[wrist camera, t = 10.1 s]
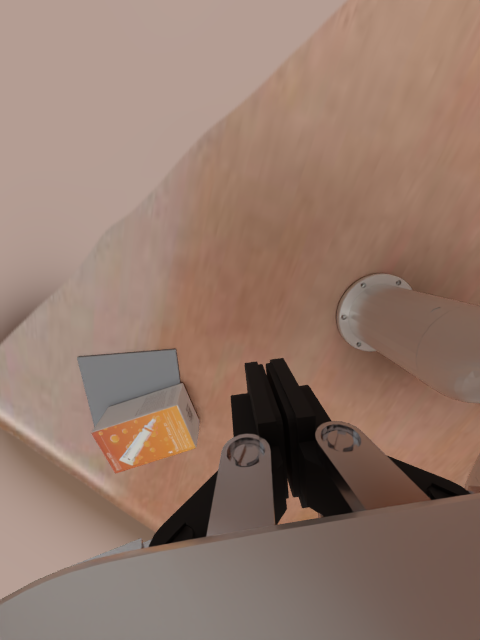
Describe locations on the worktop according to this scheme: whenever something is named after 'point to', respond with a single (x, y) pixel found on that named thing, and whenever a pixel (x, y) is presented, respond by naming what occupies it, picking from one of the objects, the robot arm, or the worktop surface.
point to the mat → (126, 377)
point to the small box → (147, 428)
